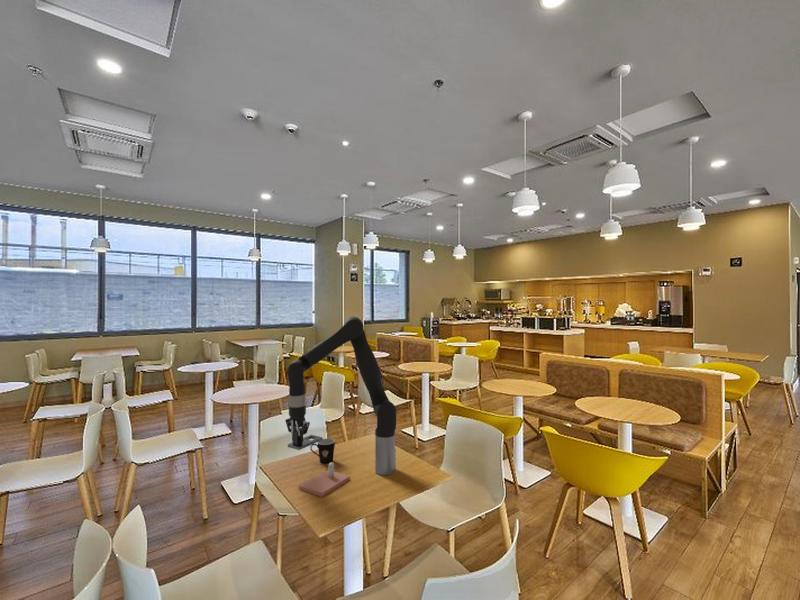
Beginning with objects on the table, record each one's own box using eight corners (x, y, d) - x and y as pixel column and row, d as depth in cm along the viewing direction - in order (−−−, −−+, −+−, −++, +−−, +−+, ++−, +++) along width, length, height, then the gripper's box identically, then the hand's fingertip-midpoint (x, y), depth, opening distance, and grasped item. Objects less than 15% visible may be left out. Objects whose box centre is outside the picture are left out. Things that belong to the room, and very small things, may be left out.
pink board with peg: (328, 472, 173) (328, 455, 173) (349, 479, 166) (349, 461, 166) (299, 489, 157) (299, 470, 157) (321, 497, 150) (321, 477, 151)
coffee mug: (338, 459, 187) (338, 439, 188) (328, 466, 180) (328, 445, 180) (319, 455, 192) (319, 436, 193) (309, 462, 185) (309, 442, 185)
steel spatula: (311, 437, 180) (311, 422, 180) (322, 439, 176) (322, 424, 176) (287, 447, 167) (287, 430, 167) (299, 450, 163) (299, 433, 163)
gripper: (314, 404, 167) (314, 442, 167) (292, 400, 175) (293, 437, 174) (302, 408, 161) (302, 448, 161) (280, 404, 168) (280, 442, 168)
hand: (297, 442), depth 167 cm, fingers closed on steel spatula, 3 cm apart
